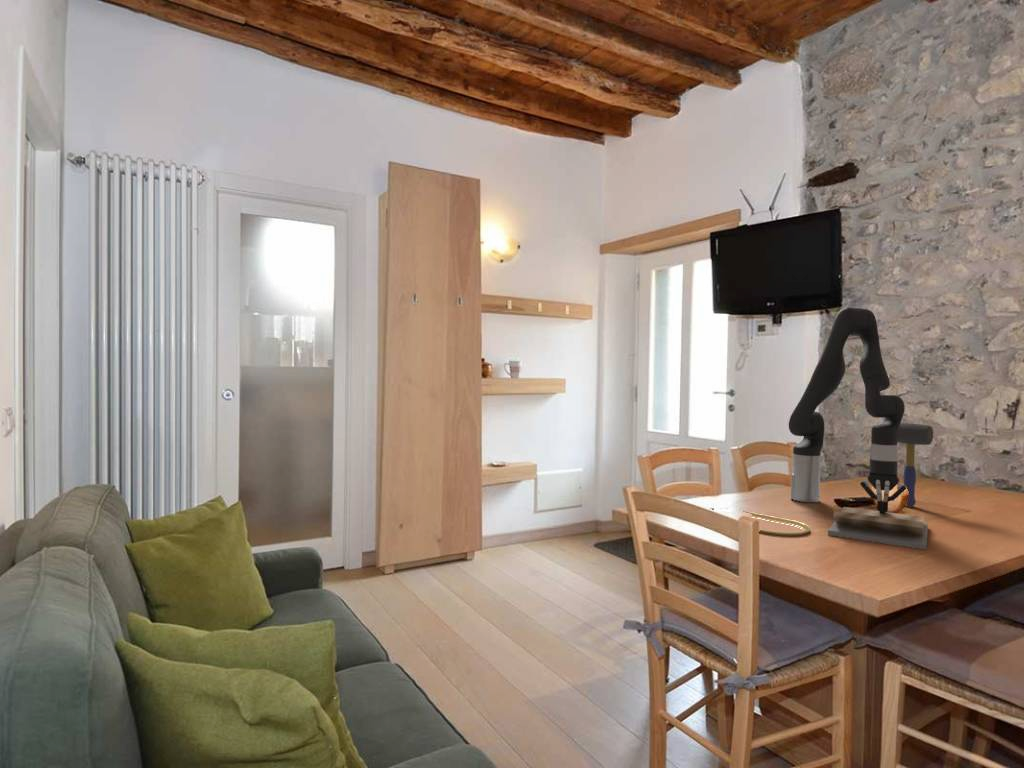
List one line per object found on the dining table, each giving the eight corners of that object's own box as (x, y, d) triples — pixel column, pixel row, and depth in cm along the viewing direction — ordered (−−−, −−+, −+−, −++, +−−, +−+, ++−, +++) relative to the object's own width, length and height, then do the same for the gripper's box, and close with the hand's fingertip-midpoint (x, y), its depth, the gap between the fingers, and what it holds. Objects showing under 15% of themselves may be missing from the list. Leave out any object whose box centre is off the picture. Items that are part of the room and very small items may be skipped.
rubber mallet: (932, 508, 217) (935, 424, 216) (925, 511, 212) (927, 425, 211) (893, 501, 226) (895, 421, 226) (885, 504, 222) (888, 422, 221)
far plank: (840, 518, 194) (840, 513, 194) (843, 511, 200) (843, 506, 200) (923, 529, 181) (923, 524, 181) (923, 521, 188) (924, 516, 188)
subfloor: (827, 535, 180) (828, 524, 180) (840, 516, 203) (840, 507, 202) (926, 550, 166) (926, 538, 166) (927, 528, 189) (927, 518, 189)
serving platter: (715, 509, 212) (716, 505, 212) (820, 530, 186) (820, 525, 186) (685, 518, 200) (686, 513, 200) (793, 542, 174) (793, 536, 174)
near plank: (833, 515, 181) (833, 510, 181) (836, 523, 186) (836, 518, 187) (922, 527, 168) (922, 522, 169) (922, 535, 174) (922, 530, 174)
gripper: (909, 458, 191) (907, 513, 192) (860, 455, 199) (859, 507, 199) (908, 461, 185) (906, 518, 186) (858, 457, 193) (857, 512, 193)
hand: (882, 512), depth 193 cm, fingers closed
